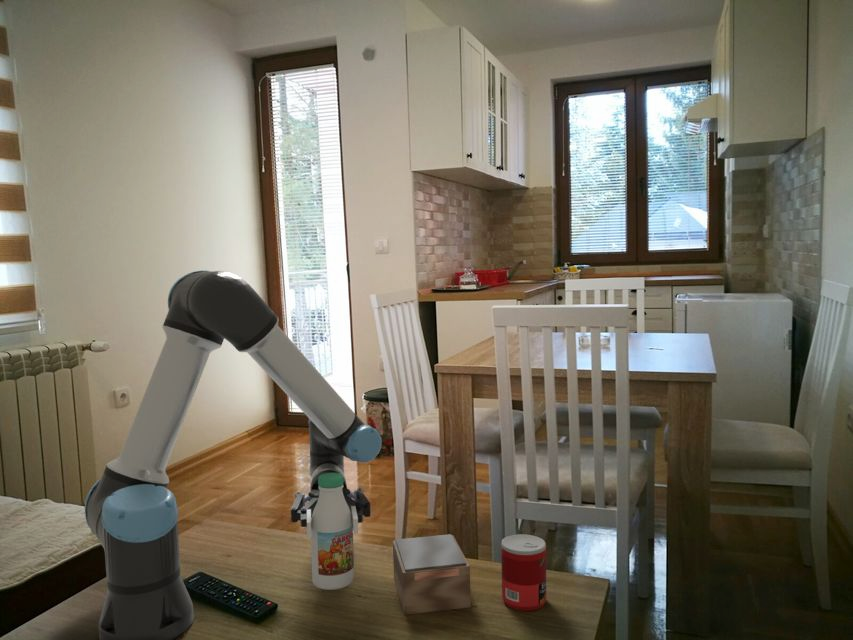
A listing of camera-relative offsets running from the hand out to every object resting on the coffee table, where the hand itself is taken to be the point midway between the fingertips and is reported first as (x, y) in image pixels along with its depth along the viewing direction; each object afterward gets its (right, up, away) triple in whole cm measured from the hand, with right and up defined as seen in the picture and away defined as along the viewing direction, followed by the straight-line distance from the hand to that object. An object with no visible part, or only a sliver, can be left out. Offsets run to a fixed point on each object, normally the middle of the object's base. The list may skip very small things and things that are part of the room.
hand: (332, 528), depth 119 cm
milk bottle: (-1, -12, +6) cm, 13 cm away
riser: (+17, -14, +7) cm, 23 cm away
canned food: (+34, -14, +3) cm, 37 cm away
